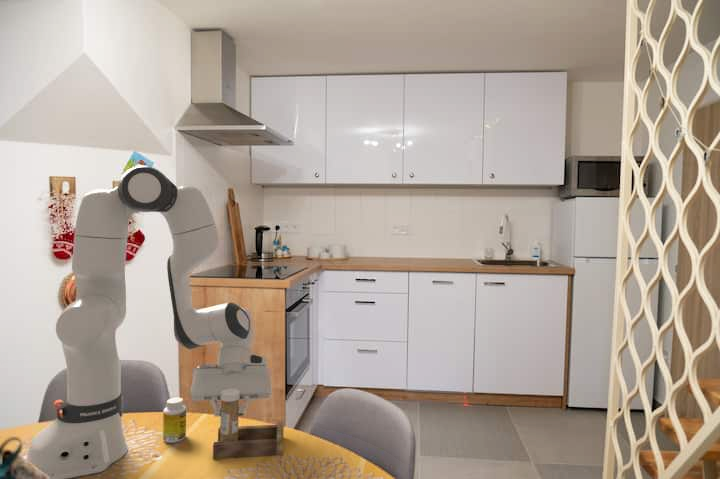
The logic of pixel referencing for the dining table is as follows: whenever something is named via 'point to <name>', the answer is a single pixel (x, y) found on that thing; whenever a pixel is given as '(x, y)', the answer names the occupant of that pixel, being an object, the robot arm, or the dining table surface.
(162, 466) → the dining table surface
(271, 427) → the guide rail
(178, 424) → the supplement bottle
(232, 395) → the spice jar
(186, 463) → the dining table surface
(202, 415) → the dining table surface
